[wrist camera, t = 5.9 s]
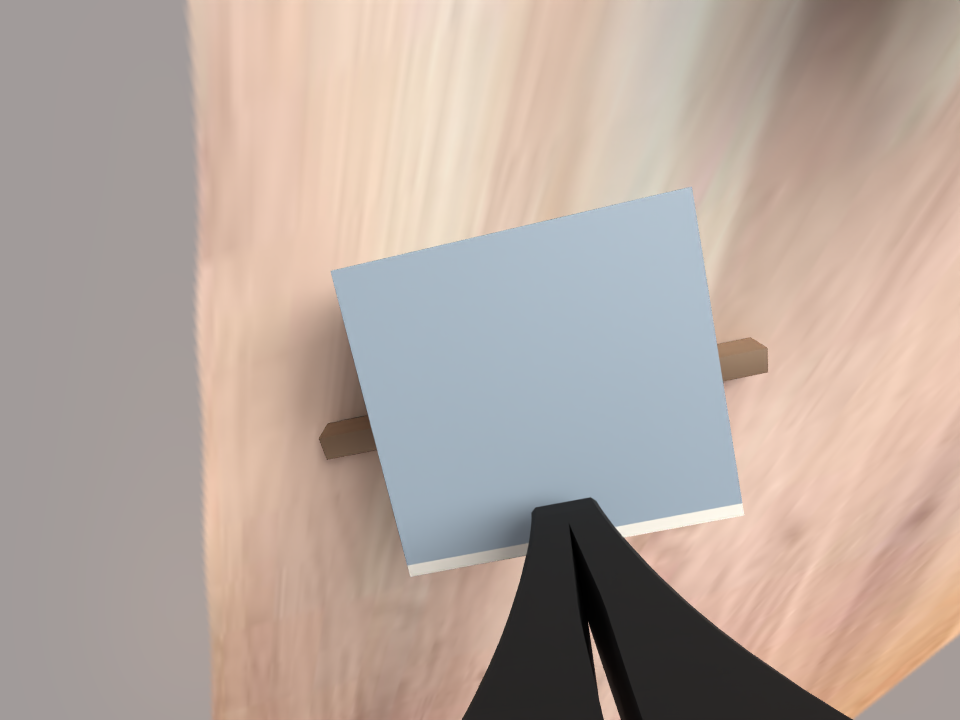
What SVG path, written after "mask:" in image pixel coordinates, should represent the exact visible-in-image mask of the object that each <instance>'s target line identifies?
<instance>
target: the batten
mask: <svg viewBox="0 0 960 720" xmlns="http://www.w3.org/2000/svg"><path fill="white" fill-rule="evenodd" d="M717 348H718V354H719V361H720V367H721V373H722V379H723V381H727V380H732V379H737V378H742V377H747V376H752V375H757V374H762V373H767V372H768V348H767V347H765V346H763V345H762V344H760V343H759V342H757V341H755V340H754V339H752V338H746V339H741V340H736V341H731V342H726V343H721V344H717ZM319 440H320V443H321V445H322V448H323V451H324V453H325V456H326V459H327V460H329V459H334V458H339V457H344V456H349V455H354V454H359V453H364V452H369V451H374V450H377V447H376V443H375V439H374V436H373V432H372V428H371V424H370V420H369V416H363V417H358V418H353V419H348V420H344V421H339V422H334V423H329V424H327V426H326V427H325V429H324V431H323V432H322V434H321V436H320V438H319Z"/></svg>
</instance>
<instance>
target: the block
mask: <svg viewBox="0 0 960 720" xmlns="http://www.w3.org/2000/svg"><path fill="white" fill-rule="evenodd" d="M331 275H332V278H333V282H334V286H335V290H336V294H337V298H338V301H339V305H340V309H341V313H342V317H343V321H344V324H345V328H346V332H347V336H348V340H349V344H350V347H351V351H352V355H353V359H354V363H355V367H356V370H357V374H358V378H359V382H360V386H361V390H362V393H363V397H364V401H365V405H366V409H367V413H368V416H369V420H370V424H371V428H372V432H373V436H374V439H375V443H376V447H377V451H378V455H379V459H380V463H381V466H382V470H383V474H384V478H385V482H386V486H387V489H388V493H389V497H390V501H391V505H392V509H393V512H394V516H395V520H396V524H397V528H398V532H399V535H400V539H401V543H402V547H403V551H404V555H405V558H406V562H407V566H408V570H409V574H410V577H412V576H418V575H423V574H428V573H434V572H439V571H445V570H450V569H456V568H461V567H466V566H472V565H477V564H483V563H488V562H494V561H499V560H504V559H510V558H515V557H521V556H526V554H527V549H528V544H529V538H530V531H531V512H532V511H533V510H534V509H535V507H540V506H546V505H551V504H556V503H562V502H567V501H573V500H578V499H583V498H589V497H591V498H593V499H594V500H596V501H597V503H598V504H599V506H600V507H601V509H602V510H603V512H604V513H605V515H606V516H607V517H608V519H609V520H610V521H611V523H612V524H613V525H614V526H615V528H616V529H617V530H618V531H619V532H620V534H621V535H622V536H623V537H629V536H635V535H640V534H645V533H651V532H656V531H662V530H667V529H673V528H678V527H683V526H689V525H694V524H700V523H705V522H711V521H716V520H721V519H727V518H732V517H738V516H743V515H744V511H743V505H742V498H741V492H740V486H739V480H738V473H737V467H736V461H735V455H734V448H733V442H732V436H731V429H730V423H729V417H728V411H727V404H726V398H725V392H724V386H723V379H722V373H721V367H720V361H719V354H718V348H717V342H716V335H715V329H714V323H713V317H712V310H711V304H710V298H709V292H708V285H707V279H706V273H705V267H704V260H703V254H702V248H701V241H700V235H699V229H698V223H697V216H696V210H695V204H694V198H693V191H692V187H688V188H684V189H680V190H675V191H671V192H667V193H662V194H658V195H654V196H650V197H645V198H641V199H637V200H633V201H628V202H624V203H620V204H615V205H611V206H607V207H603V208H598V209H594V210H590V211H585V212H581V213H577V214H573V215H568V216H564V217H560V218H556V219H551V220H547V221H543V222H538V223H534V224H530V225H526V226H521V227H517V228H513V229H508V230H504V231H500V232H496V233H491V234H487V235H483V236H479V237H474V238H470V239H466V240H461V241H457V242H453V243H449V244H444V245H440V246H436V247H431V248H427V249H423V250H419V251H414V252H410V253H406V254H402V255H397V256H393V257H389V258H384V259H380V260H376V261H372V262H367V263H363V264H359V265H354V266H350V267H346V268H342V269H337V270H333V271H331Z"/></svg>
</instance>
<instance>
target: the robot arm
mask: <svg viewBox="0 0 960 720" xmlns="http://www.w3.org/2000/svg"><path fill="white" fill-rule="evenodd" d="M588 623H589V626H590V629H591V632H592V635H593V638H594V641H595V644H596V647H597V650H598V653H599V656H600V659H601V662H602V665H603V668H604V671H605V674H606V677H607V680H608V683H609V686H610V689H611V692H612V695H613V697H614V700H615V703H616V706H617V709H618V712H619V715H620V718H621V720H852V719H851V718H849V717H847V716H846V715H844V714H842V713H841V712H839V711H838V710H836V709H834V708H833V707H831V706H830V705H828V704H826V703H825V702H823V701H822V700H820V699H818V698H817V697H815V696H814V695H812V694H810V693H809V692H807V691H806V690H804V689H802V688H801V687H800V686H798V685H797V684H795V683H794V682H792V681H791V680H789V679H788V678H787V677H785V676H784V675H782V674H781V673H779V672H778V671H776V670H775V669H773V668H772V667H771V666H769V665H768V664H766V663H765V662H763V661H762V660H760V659H759V658H758V657H756V656H755V655H753V654H752V653H750V652H749V651H748V650H746V649H745V648H743V647H742V646H741V645H740V644H738V643H737V642H736V641H734V640H733V639H732V638H731V637H729V636H728V635H727V634H725V633H724V632H723V631H721V630H720V629H719V628H718V627H716V626H715V625H714V624H713V623H712V622H710V621H709V620H708V619H707V618H705V617H704V616H703V615H702V614H701V613H699V612H698V611H697V610H696V609H695V608H694V607H692V606H691V605H690V604H689V603H688V602H687V601H686V600H685V599H683V598H682V597H681V596H680V595H679V594H678V593H677V592H676V591H675V590H674V589H673V588H672V587H671V586H670V585H668V584H667V583H666V582H665V581H664V580H663V579H662V578H661V577H660V576H659V575H658V574H657V573H656V572H655V571H654V570H653V569H652V568H651V567H650V566H649V565H648V564H647V563H646V562H645V560H644V559H643V558H642V557H641V556H640V555H639V554H638V553H637V552H636V551H635V550H634V549H633V548H632V546H631V545H630V544H629V543H628V542H627V541H626V540H625V538H624V537H623V536H622V535H621V534H620V532H619V531H618V530H617V529H616V528H615V526H614V525H613V524H612V523H611V521H610V520H609V519H608V517H607V516H606V515H605V513H604V512H603V510H602V509H601V507H600V506H599V504H598V503H597V501H596V500H594V499H593V498H591V497H589V498H583V499H578V500H573V501H567V502H562V503H556V504H551V505H546V506H540V507H535V509H534V510H533V511H532V512H531V531H530V538H529V544H528V549H527V554H526V558H525V563H524V567H523V571H522V575H521V579H520V583H519V586H518V589H517V592H516V596H515V599H514V602H513V605H512V608H511V611H510V614H509V617H508V620H507V623H506V625H505V628H504V631H503V634H502V636H501V639H500V641H499V644H498V646H497V648H496V651H495V653H494V655H493V658H492V660H491V662H490V665H489V667H488V669H487V671H486V673H485V675H484V677H483V679H482V681H481V683H480V685H479V688H478V690H477V692H476V694H475V696H474V698H473V700H472V702H471V704H470V705H469V707H468V709H467V711H466V713H465V715H464V717H463V718H462V720H604V719H603V715H602V710H601V706H600V702H599V696H598V689H597V682H596V675H595V668H594V661H593V654H592V647H591V640H590V633H589V626H588Z"/></svg>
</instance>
